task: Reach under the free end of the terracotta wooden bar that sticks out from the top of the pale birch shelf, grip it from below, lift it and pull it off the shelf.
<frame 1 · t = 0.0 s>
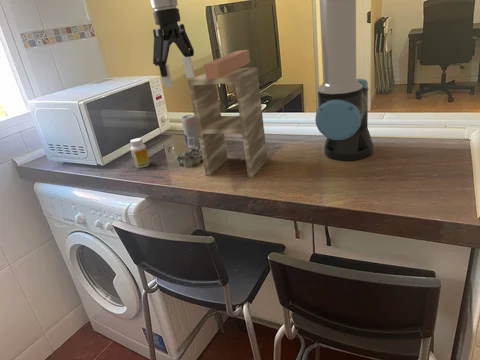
hand: (180, 82, 120), 28 cm above the breakfast bar, tool pointing down, fingers open, 13 cm apart
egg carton: (192, 162, 134), on the breakfast bar
supplement bottle: (142, 165, 137), on the breakfast bar
energy drink: (194, 146, 149), on the breakfast bar
bar: (229, 70, 115), point 30 cm above the breakfast bar, touching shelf
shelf: (237, 167, 123), on the breakfast bar
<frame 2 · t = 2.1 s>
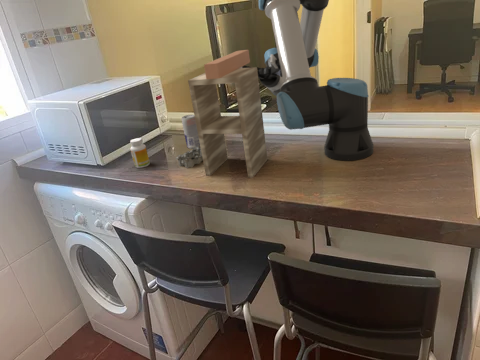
hand: (252, 59, 131), 30 cm above the breakfast bar, tool pointing upward, fingers open, 13 cm apart
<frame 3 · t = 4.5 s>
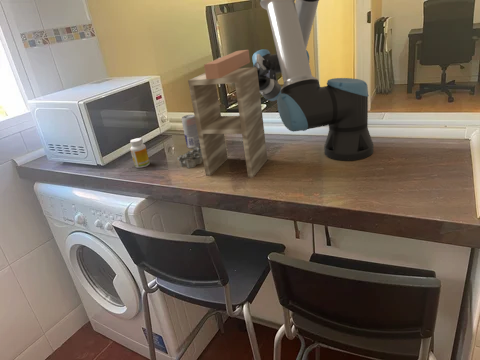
hand: (237, 59, 121), 32 cm above the breakfast bar, tool pointing upward, fingers open, 13 cm apart
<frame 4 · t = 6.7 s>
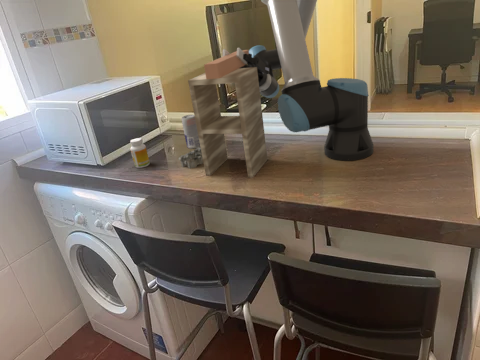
hand: (230, 52, 115), 35 cm above the breakfast bar, tool pointing upward, fingers closed on bar, 4 cm apart
bar: (229, 70, 115), point 30 cm above the breakfast bar, touching gripper, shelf
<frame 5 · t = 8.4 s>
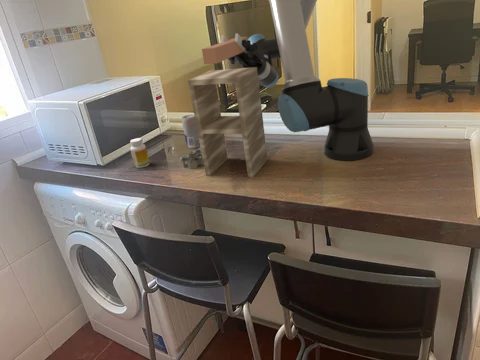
hand: (229, 38, 114), 39 cm above the breakfast bar, tool pointing upward, fingers closed on bar, 4 cm apart
bar: (228, 56, 114), point 34 cm above the breakfast bar, touching gripper
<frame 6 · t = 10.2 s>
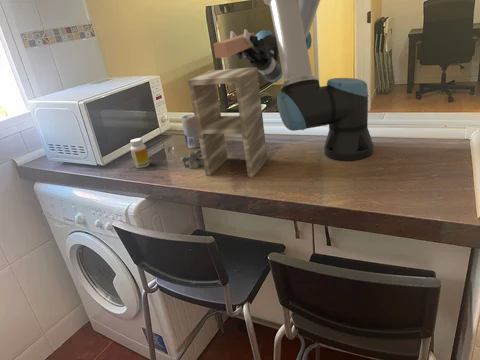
hand: (238, 34, 121), 39 cm above the breakfast bar, tool pointing upward, fingers closed on bar, 4 cm apart
bar: (237, 51, 121), point 34 cm above the breakfast bar, touching gripper
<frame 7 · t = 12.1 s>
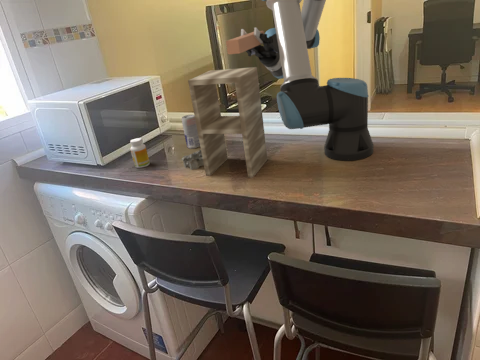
hand: (248, 32, 126), 39 cm above the breakfast bar, tool pointing upward, fingers closed on bar, 4 cm apart
bar: (247, 48, 126), point 34 cm above the breakfast bar, touching gripper
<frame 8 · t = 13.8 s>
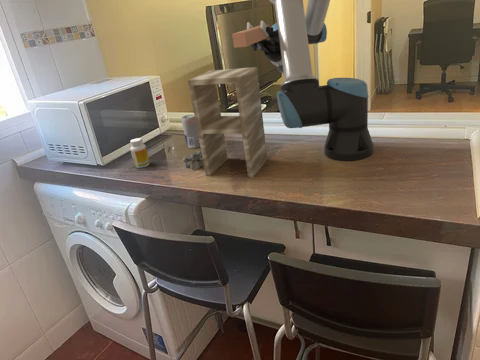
hand: (254, 25, 124), 41 cm above the breakfast bar, tool pointing upward, fingers closed on bar, 4 cm apart
bar: (253, 41, 124), point 36 cm above the breakfast bar, touching gripper
at the end: the gripper is holding bar; bar touching gripper; bar moved 16.4 cm from its start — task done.
